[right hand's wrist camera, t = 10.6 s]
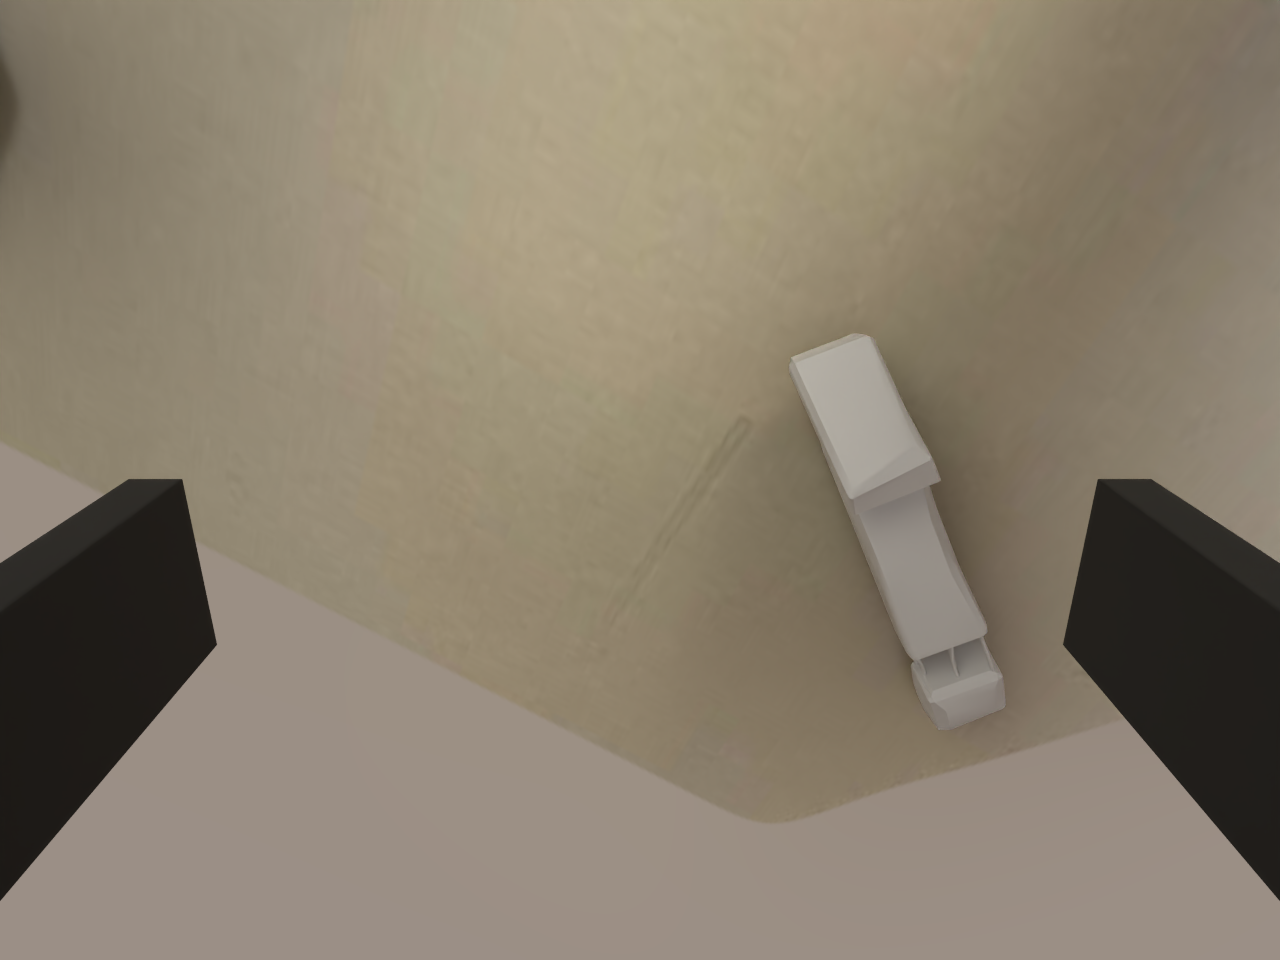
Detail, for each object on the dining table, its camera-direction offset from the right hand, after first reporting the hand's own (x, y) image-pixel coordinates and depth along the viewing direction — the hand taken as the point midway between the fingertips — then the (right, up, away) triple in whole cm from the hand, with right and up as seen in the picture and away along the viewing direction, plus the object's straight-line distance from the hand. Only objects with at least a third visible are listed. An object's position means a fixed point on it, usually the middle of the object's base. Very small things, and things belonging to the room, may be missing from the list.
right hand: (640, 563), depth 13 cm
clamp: (+12, -1, +27) cm, 30 cm away
